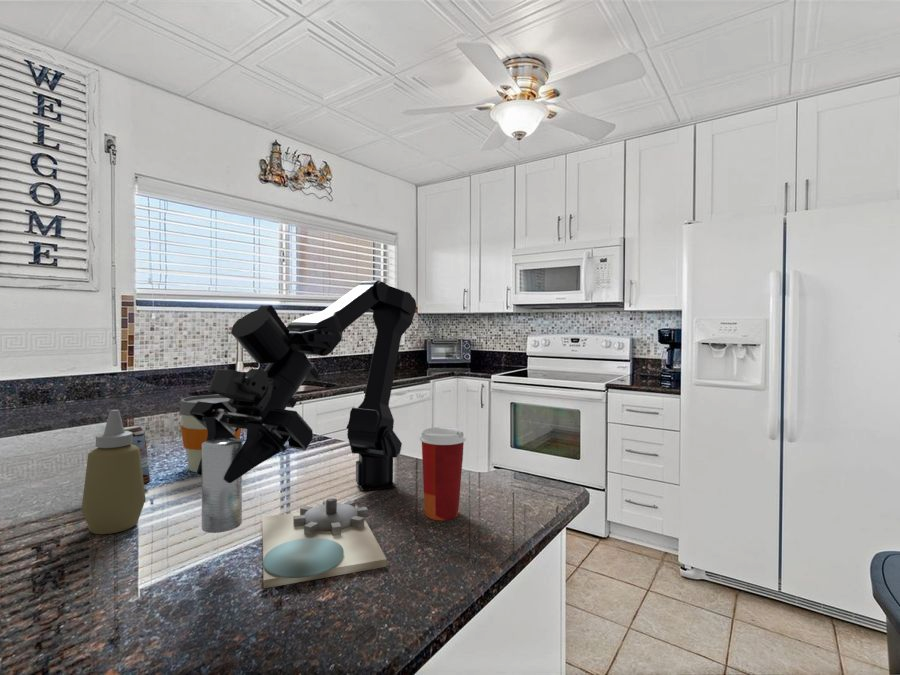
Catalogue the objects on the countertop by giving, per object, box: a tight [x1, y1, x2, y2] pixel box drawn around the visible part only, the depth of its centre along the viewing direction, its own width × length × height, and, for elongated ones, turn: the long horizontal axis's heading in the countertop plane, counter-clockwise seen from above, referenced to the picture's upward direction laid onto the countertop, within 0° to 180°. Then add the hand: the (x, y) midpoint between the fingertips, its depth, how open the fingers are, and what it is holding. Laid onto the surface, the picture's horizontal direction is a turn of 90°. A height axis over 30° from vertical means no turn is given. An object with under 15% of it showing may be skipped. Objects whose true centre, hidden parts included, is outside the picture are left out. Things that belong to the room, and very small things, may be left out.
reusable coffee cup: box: [179, 394, 242, 473], centre depth 105 cm, size 13×12×15 cm
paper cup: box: [418, 426, 466, 522], centre depth 80 cm, size 8×8×14 cm
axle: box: [201, 438, 243, 534], centre depth 63 cm, size 5×5×11 cm
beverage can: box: [124, 425, 151, 488], centre depth 89 cm, size 6×7×12 cm
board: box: [261, 497, 388, 589], centre depth 69 cm, size 16×22×4 cm
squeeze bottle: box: [81, 409, 147, 535], centre depth 73 cm, size 8×8×18 cm
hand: (212, 478), depth 62 cm, fingers closed on axle, 5 cm apart
